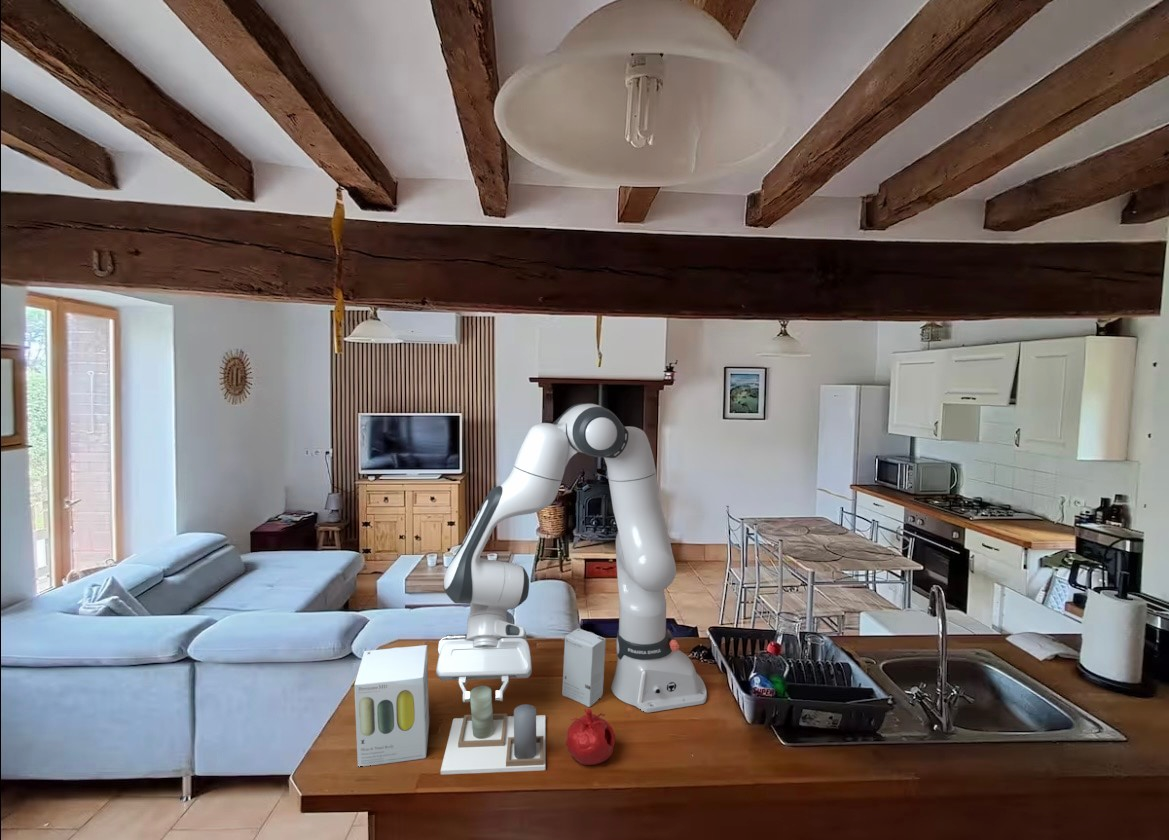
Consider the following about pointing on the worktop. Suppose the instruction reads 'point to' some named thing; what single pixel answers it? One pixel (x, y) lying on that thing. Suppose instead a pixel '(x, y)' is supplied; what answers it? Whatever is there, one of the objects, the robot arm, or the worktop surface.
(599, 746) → the pomegranate
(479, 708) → the sage pin
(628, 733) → the worktop surface
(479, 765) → the board
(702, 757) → the worktop surface
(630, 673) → the robot arm
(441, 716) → the worktop surface
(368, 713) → the supplement box
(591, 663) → the skincare box
